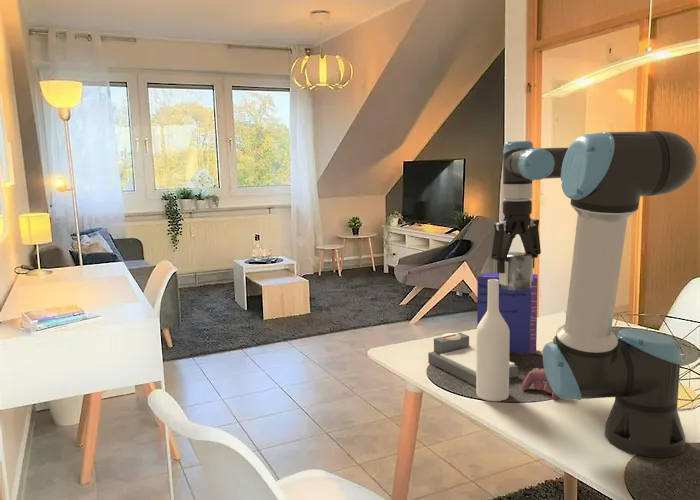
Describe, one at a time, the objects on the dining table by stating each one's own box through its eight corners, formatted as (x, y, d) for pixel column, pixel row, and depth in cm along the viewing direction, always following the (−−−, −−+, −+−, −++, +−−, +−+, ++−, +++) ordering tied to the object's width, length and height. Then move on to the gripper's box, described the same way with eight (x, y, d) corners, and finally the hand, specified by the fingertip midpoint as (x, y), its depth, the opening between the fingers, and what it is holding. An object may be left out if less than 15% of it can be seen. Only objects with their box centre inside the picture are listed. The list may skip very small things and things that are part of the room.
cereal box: (535, 349, 179) (536, 273, 175) (536, 354, 175) (537, 277, 171) (477, 346, 184) (477, 272, 180) (477, 351, 179) (477, 276, 175)
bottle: (488, 404, 142) (489, 285, 137) (470, 392, 149) (469, 278, 144) (515, 398, 145) (517, 281, 140) (496, 386, 152) (496, 275, 147)
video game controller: (563, 402, 145) (569, 375, 146) (555, 400, 142) (562, 372, 143) (527, 392, 152) (534, 366, 153) (519, 389, 149) (526, 362, 150)
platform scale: (517, 376, 158) (517, 349, 157) (477, 387, 152) (477, 359, 151) (464, 352, 178) (464, 328, 177) (426, 361, 172) (426, 336, 171)
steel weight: (530, 291, 154) (531, 257, 152) (499, 289, 156) (500, 257, 155) (531, 284, 161) (532, 252, 160) (502, 283, 164) (502, 251, 162)
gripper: (536, 196, 162) (535, 275, 166) (477, 201, 154) (476, 284, 157) (556, 197, 156) (554, 280, 160) (495, 203, 147) (495, 290, 151)
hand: (516, 282), depth 158 cm, fingers closed on steel weight, 8 cm apart
